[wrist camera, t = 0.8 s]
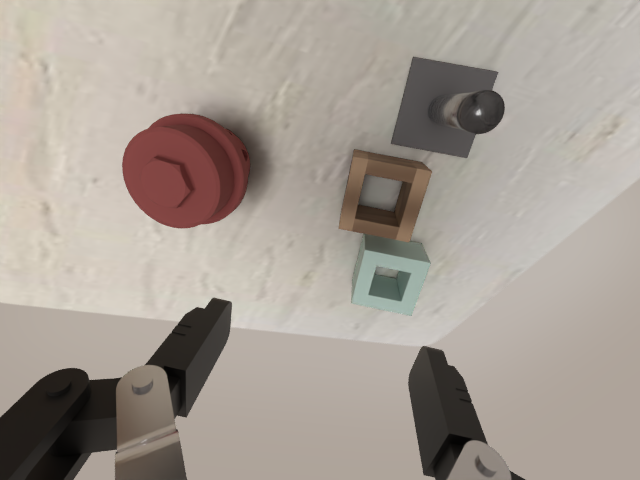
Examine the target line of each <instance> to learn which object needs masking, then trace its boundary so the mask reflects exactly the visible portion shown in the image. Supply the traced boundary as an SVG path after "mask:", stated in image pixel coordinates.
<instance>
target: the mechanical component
mask: <svg viewBox="0 0 640 480" xmlns="http://www.w3.org/2000/svg"><path fill="white" fill-rule="evenodd" d="M122 167H123V176H124V181H125V184H126V187H127V189H128V191H129V193H130V195H131V197H132V198H133V200H134V201H135V203H136V204H137V205H138V206H139V208H140V209H141V210H143V211H144V212H145V213H146V214H147V215H148V216H150V217H151V218H152V219H154V220H156V221H157V222H159V223H161V224H164V225H166V226H170V227H174V228H191V227H195V226H197V225H200V224H210V223H214V222H217V221H220V220H221V219H223V218H225V217H226V216H228V215H229V214H230V213H231V212H232V211H234V210H235V209H236V208H237V207H238V205H239V204H240V203H241V201H242V199H243V198H244V195H245V192H246V189H247V184H248V175H249V171H250V159H249V155H248V152H247V150H246V148H245V146H244V144H243V143H242V142H241V140H240V139H239V138H238V137H237V136H235V135H234V134H233V133H232V132H231V131H230V130H228V129H224V128H223V127H222V126H221V125H219V124H218V123H216V122H215V121H213V120H211V119H209V118H206V117H203V116H200V115H195V114H174V115H169V116H165V117H163V118H161V119H159V120H157V121H156V122H154V123H153V124H152V125H151V126H150V127H149V128H148V129H146V130H144V131H142V132H140V133H138V134H137V135H136V136H135V137H133V139H132V140H131V141H130V142H129V144H128V146H127V147H126V149H125V153H124V156H123V163H122Z"/></svg>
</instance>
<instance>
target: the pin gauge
mask: <svg viewBox="0 0 640 480" xmlns="http://www.w3.org/2000/svg"><path fill="white" fill-rule="evenodd" d="M504 108H505V107H504V101H503V99H502V97H501V96H500V95H499V94H498V93H496V92H494V91H491V90H482V91H476V92H471V93H462V94H453V95H444V96H439V97H437V98H435V99H434V100H433V101H432V102H431V104H430V106H429V109H428V115H429V118H430V120H431V121H432V122H434V123H436V124H440V125H445V126H449V127H453V128H457V129H461V130H465V131H467V132H470V133H474V134H483V133H486V132H489V131H491V130H492V129H494V128H495V127H496V126H497V125H498V124H499V122H500V121H501V119H502V117H503V114H504Z"/></svg>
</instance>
